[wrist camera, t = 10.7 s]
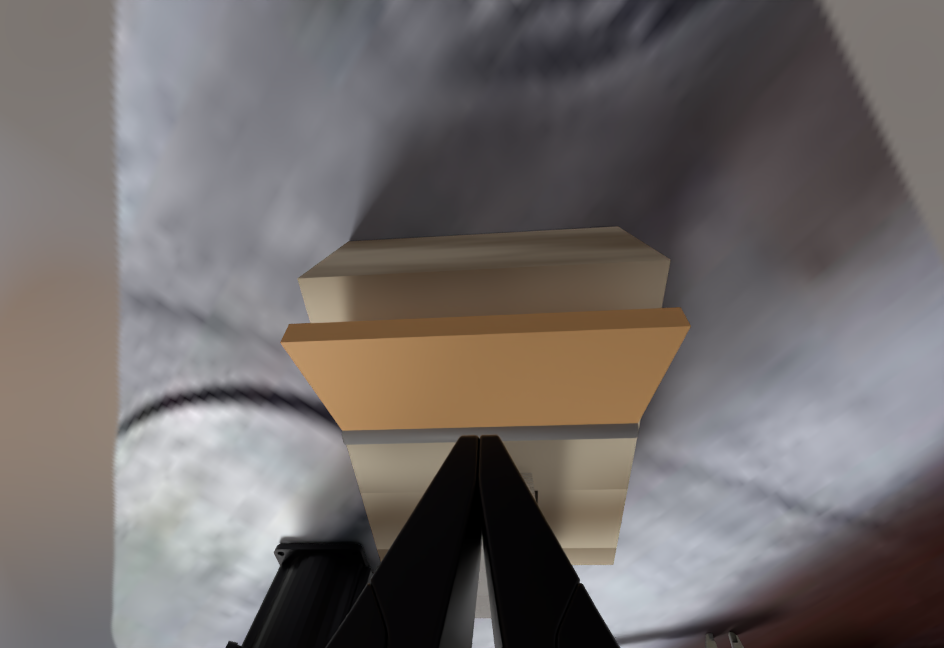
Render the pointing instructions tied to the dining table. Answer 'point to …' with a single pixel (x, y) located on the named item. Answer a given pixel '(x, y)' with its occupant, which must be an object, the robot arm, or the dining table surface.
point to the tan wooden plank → (489, 374)
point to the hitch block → (482, 294)
